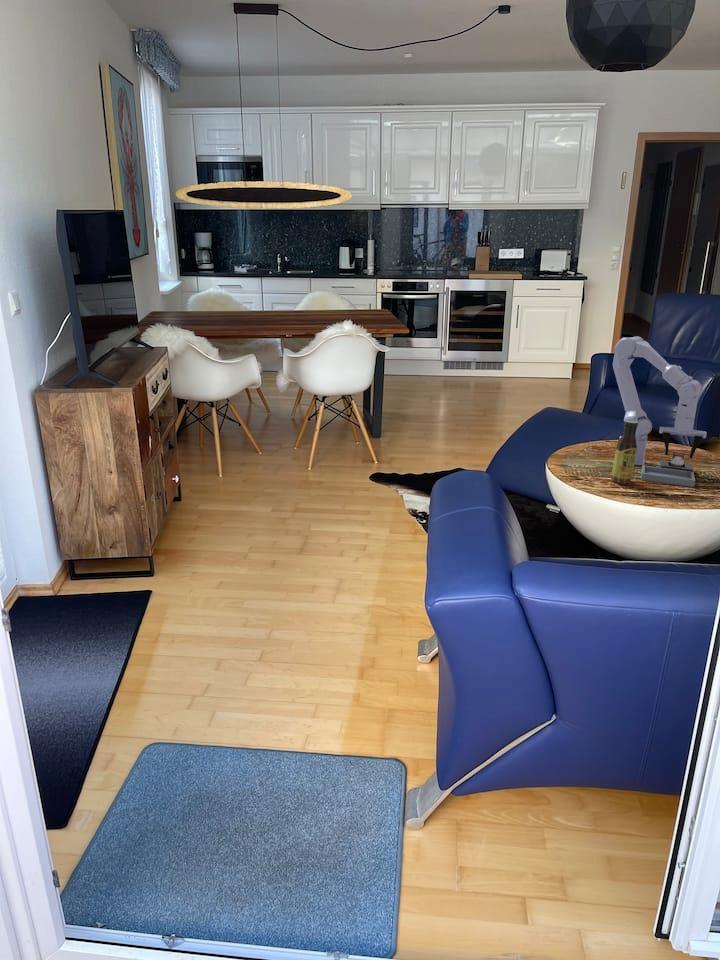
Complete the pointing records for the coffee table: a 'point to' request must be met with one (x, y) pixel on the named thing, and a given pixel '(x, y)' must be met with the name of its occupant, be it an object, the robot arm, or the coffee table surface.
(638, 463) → the robot arm
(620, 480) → the sauce bottle
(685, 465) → the hitch block
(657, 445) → the coffee table surface
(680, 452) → the small white jar
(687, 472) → the tray
